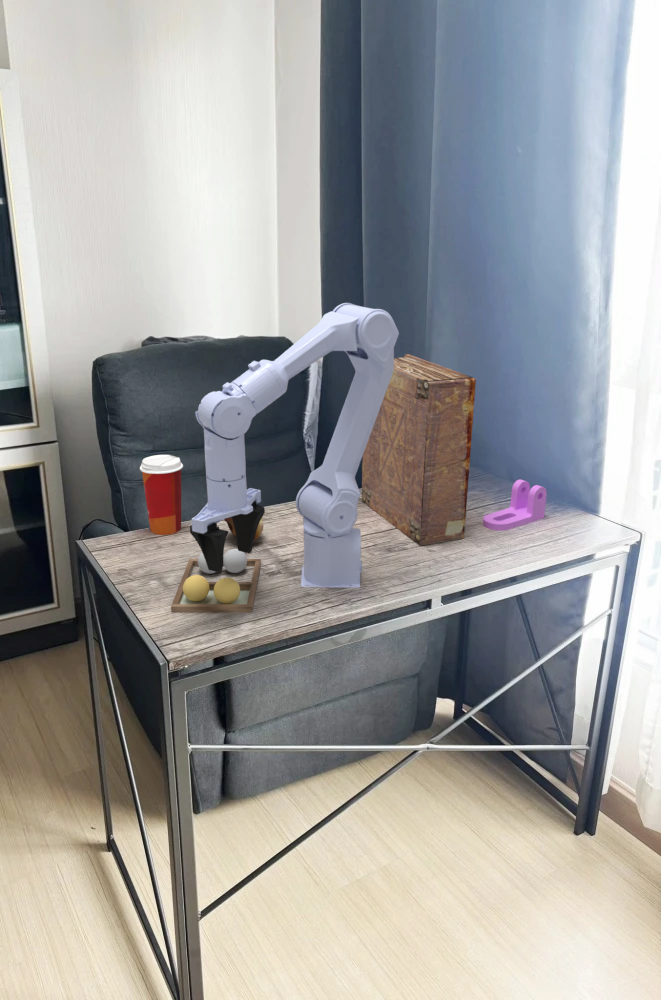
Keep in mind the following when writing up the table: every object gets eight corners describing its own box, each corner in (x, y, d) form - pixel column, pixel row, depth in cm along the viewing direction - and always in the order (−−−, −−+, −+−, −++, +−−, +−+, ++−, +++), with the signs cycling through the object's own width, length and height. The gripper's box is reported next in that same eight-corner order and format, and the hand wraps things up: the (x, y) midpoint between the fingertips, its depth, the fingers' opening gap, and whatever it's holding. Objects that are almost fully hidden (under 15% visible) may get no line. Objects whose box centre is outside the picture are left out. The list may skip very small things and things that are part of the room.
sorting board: (260, 567, 136) (260, 557, 135) (252, 615, 120) (251, 605, 119) (189, 566, 136) (189, 557, 135) (171, 615, 120) (170, 605, 119)
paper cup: (168, 520, 155) (163, 451, 150) (195, 530, 151) (191, 459, 146) (135, 532, 150) (129, 460, 145) (162, 543, 145) (157, 469, 140)
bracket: (522, 510, 162) (525, 477, 160) (543, 518, 158) (547, 485, 155) (476, 524, 155) (479, 490, 152) (498, 533, 151) (501, 498, 148)
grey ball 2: (252, 564, 134) (243, 542, 134) (248, 571, 130) (239, 548, 130) (230, 572, 135) (221, 550, 134) (226, 579, 131) (216, 557, 130)
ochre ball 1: (211, 593, 125) (210, 570, 124) (208, 606, 121) (206, 582, 120) (186, 593, 125) (184, 570, 124) (181, 605, 121) (180, 582, 120)
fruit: (243, 555, 140) (242, 512, 138) (212, 542, 145) (210, 501, 143) (274, 542, 146) (273, 501, 143) (242, 530, 151) (241, 490, 148)
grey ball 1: (218, 570, 135) (226, 549, 134) (216, 580, 131) (225, 560, 130) (195, 562, 134) (203, 542, 133) (193, 573, 130) (201, 552, 129)
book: (361, 501, 166) (364, 356, 156) (400, 495, 170) (406, 353, 159) (420, 546, 144) (428, 381, 134) (464, 539, 148) (476, 377, 137)
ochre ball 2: (227, 585, 125) (219, 569, 123) (248, 591, 123) (240, 575, 121) (213, 605, 123) (205, 589, 120) (234, 612, 121) (226, 595, 118)
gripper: (218, 495, 108) (223, 585, 113) (276, 465, 120) (278, 548, 125) (177, 486, 112) (183, 574, 116) (237, 458, 124) (241, 539, 128)
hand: (230, 560), depth 121 cm, fingers open, 7 cm apart
